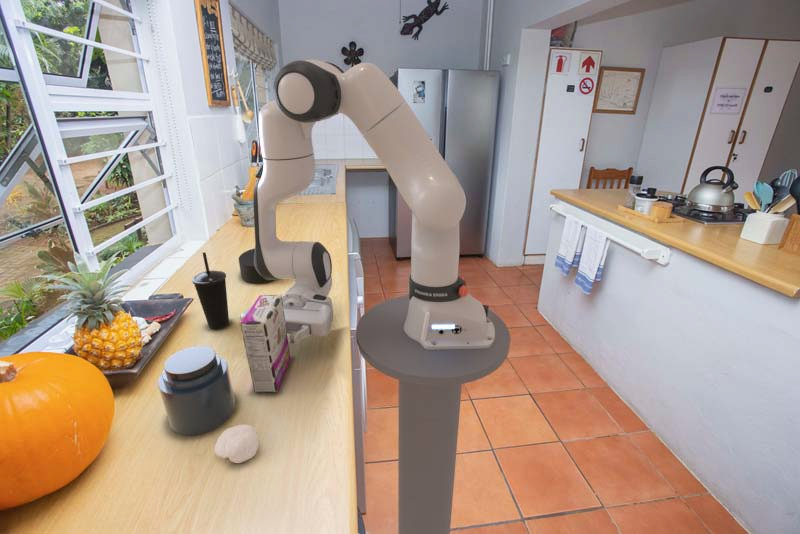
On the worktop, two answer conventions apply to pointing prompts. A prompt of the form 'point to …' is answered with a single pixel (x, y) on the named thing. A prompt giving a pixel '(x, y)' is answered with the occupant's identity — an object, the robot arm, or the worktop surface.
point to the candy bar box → (266, 342)
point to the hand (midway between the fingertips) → (271, 338)
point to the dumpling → (237, 443)
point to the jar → (196, 391)
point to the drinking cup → (212, 296)
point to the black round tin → (250, 269)
